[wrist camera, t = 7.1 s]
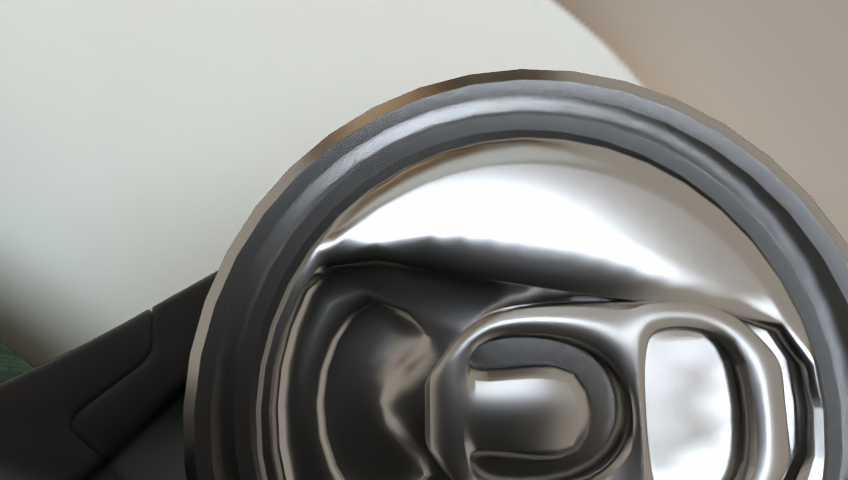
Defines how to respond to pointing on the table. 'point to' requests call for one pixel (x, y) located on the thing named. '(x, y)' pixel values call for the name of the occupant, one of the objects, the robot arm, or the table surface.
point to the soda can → (526, 300)
